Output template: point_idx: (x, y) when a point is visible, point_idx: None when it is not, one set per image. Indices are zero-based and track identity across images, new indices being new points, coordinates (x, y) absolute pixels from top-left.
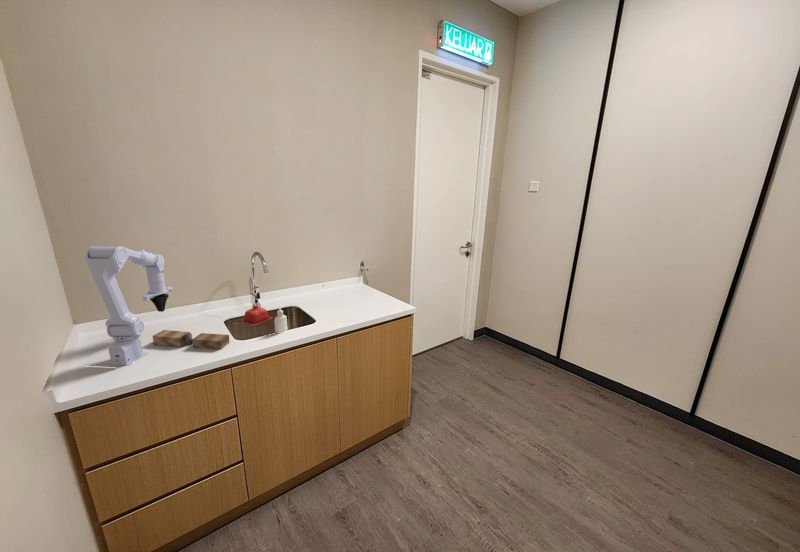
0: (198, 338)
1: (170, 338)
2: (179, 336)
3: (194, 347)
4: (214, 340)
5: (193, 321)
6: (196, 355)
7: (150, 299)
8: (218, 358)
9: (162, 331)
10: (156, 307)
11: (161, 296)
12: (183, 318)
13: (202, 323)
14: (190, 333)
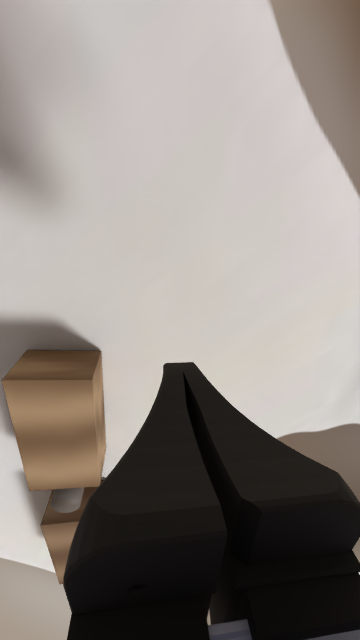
0: (55, 536)
1: (24, 455)
2: (44, 482)
3: (53, 491)
4: (58, 573)
5: (305, 338)
6: (13, 515)
7: (96, 503)
8: (21, 559)
9: (71, 386)
10: (158, 391)
11: (218, 610)
12: (356, 263)
13: (277, 386)
14: (77, 505)
